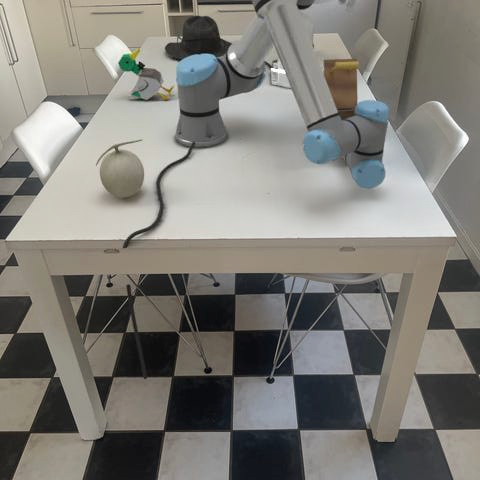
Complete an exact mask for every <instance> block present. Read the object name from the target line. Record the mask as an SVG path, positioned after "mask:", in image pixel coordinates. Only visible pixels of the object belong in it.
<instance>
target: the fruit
mask: <svg viewBox="0 0 480 480" xmlns="http://www.w3.org/2000/svg"><path fill="white" fill-rule="evenodd" d="M142 141H143V139H137V140H131V141H125V142H120V143H117V144H113V145H112V146H110V147H109V148H108V149H106V150H105V151H104V152H103V153H102V154H101V155H100V156H99V158H98V159H97V160H96V163H95V166H96V167H97V166H98V165H99V163H100V166H99V179H100V181H101V184H102V186H103V188H104V189H105V190H106V192H108V193H109V194H110V195H112V196H113V197H116V198H122V199H123V198H129V197H132V196H134V195H136V194H137V193H138V192H139V191H140V190H141V188H142V186H143V184H144V182H145V181H144V180H145V169H144V165H143V163H142V161H141V159H140V158H139V156H138V155H137V154H136V153H134V152H133V151H130V150H128V149H119V147H122V146H125V145H129V144H134V143H138V142H142ZM113 149H114V151H111V150H113ZM110 151H111V152H110ZM109 152H110V153H109ZM100 161H101V162H100Z"/></svg>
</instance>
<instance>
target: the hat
mask: <svg viewBox="0 0 480 480" xmlns="http://www.w3.org/2000/svg"><path fill="white" fill-rule="evenodd" d="M179 40H180V41H179ZM232 44H233V42H230V41H227V40H226V39H223V38H221V33H220V30H219V26H218V24H217V22H216V20H215V19H214V18H212V17H211V16H208V15H202V16H201V15H191V16H190V17H188V18H186V19H185V20H184V22H183V25H182V36H181V37H180V36H179V35H178V36H177V38H176V42H168V43H167V44H165V46H164V51H165V52H166V54H167V55H168V56H170V57H172V58H175V59H177V60H183V59H184V58H187V57H189V56H192V55H196V54H198V55H200V54H211V55H214V56H215V57H221V56H223V55H225V54H226V52H227V50H228V49H229V46H228V45H230V46H231V45H232Z"/></svg>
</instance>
